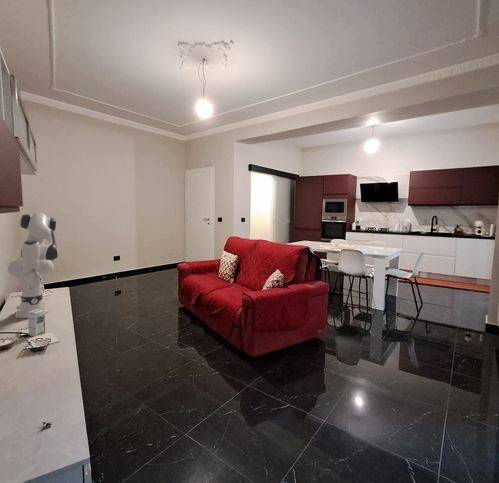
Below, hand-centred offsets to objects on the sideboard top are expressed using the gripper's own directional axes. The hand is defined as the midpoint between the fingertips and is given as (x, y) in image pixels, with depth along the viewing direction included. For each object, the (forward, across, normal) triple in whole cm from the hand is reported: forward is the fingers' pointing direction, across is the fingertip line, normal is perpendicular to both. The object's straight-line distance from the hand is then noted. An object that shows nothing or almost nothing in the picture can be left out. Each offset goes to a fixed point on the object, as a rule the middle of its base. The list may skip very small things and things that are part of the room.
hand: (32, 290), depth 177 cm
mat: (+25, -20, 0) cm, 32 cm away
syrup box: (+25, -8, 0) cm, 27 cm away
